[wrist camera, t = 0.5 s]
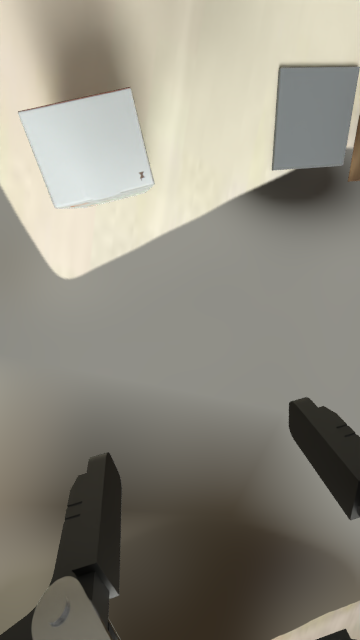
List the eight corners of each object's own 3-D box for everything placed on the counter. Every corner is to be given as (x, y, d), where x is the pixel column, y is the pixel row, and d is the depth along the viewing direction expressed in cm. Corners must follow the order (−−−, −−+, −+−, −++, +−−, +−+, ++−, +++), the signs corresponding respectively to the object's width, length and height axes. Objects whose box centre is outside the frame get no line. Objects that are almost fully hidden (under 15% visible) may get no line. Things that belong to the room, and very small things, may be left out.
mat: (278, 69, 29) (280, 67, 29) (357, 68, 31) (359, 66, 30) (272, 170, 33) (273, 169, 33) (340, 165, 35) (343, 165, 34)
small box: (131, 132, 29) (133, 84, 17) (146, 193, 32) (156, 186, 20) (61, 148, 29) (14, 109, 17) (82, 208, 31) (55, 211, 20)
